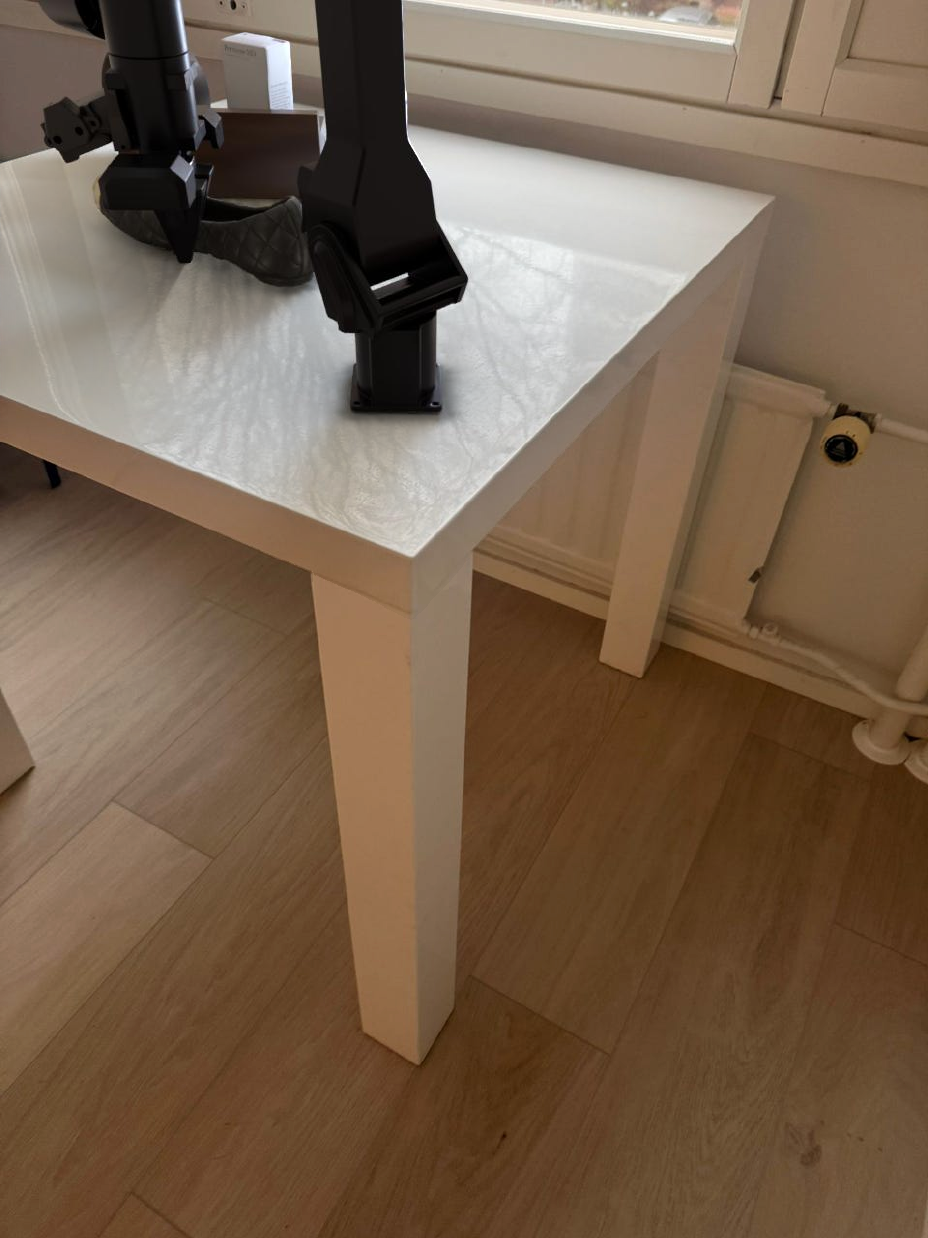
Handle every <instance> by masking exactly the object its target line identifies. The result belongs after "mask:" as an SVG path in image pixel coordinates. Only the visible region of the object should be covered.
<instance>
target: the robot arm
mask: <svg viewBox="0 0 928 1238" xmlns="http://www.w3.org/2000/svg"><path fill="white" fill-rule="evenodd" d="M36 1H37V3H38V5H39V7H40V8H41V10H42V12H43V13H44V14H45V15H46V16H47V18H49V20H50V21H52V22H54V23H55V24H56V25H58V26H60V27H62V28H64V29H68V30H70V31H74V32H77V33H80V34H82V35H83V34H84V35H87V36H90V37H94V38H97V39H99V40H104V41H105V43H106V48H107V52H108V54H109V59H110V64H111V68H110V69H109V70H108V71H107V72H106V73H105V75H104V76H103V78H102V77H101V84H102V83H103V88H102V87H101V88H100V89H96V90H94V91H92V92H89V93H87V94H85V95H83V96H80V97H78V98H76V99H71V98H69V97H68V96H63V97H62V98H61V99H59V100H58V101H56V102H54V103H53V102H49V103H47V104H46V105H45V106H44V107H43V108H42V113H43V119H42V120H41V122H40V128H41V129H42V131H43V133H44V137H43V142H44V144H45V146H47V147H48V148H50V149H55V151H57V152H58V153H59V154H60V156H61V158H62V160H63V161H64V163H65V164H71V163H73V162H77V161H78V160H79V159H80V157H81V156H83V155H86V154H88V153H90V152H93V151H95V150H97V149H100V148H103V147H105V146H108V145H110V144H112V145H113V149H114V150H113V151H114V152H117V154H116V156H115V157H114V159H112V161H111V162H110V163H109V165H108V166H107V167H106V169H105V170H104V172H102V174H100V175H101V177H100V178H99V179H98V185H99V189H100V193H101V198H102V202H103V207H104V208H106V209H108V210H147V211H153V212H154V213H155V215H156V217H157V219H158V221H159V223H160V225H161V227H162V229H163V231H164V234H165V236H166V238H167V240H168V242H169V244H170V246H171V248H172V250H171V251H172V252H173V255H174V257H175V259H176V261H177V263H178V264H179V265H190V264H192V262H193V259H194V255H195V253H194V251H195V246H196V242H197V237H198V233H199V228H200V224H201V219H202V216H203V211H204V207H205V203H206V198H207V194H208V190H209V185H210V181H211V177H212V173H213V170H214V166H213V165H212V164H197V163H195V156H194V155H190V153H191V152H192V151H196V150H197V149H198V147H199V145H200V143H201V142H202V140H210V142H211V145H212V148H213V149H220V148H221V146H222V144H223V142H224V135H223V128H222V120H221V117H220V116H219V115H218V114H217V113H216V112H215V111H214V110H213V109H212V108H213V107H212V106H209V105H196V99H195V92H194V86H193V81H194V80H195V79H196V77H197V76H198V75H197V68H196V61H190V59H189V52H188V50H189V46H188V40H187V39H188V38H187V32H186V26H185V19H184V15H183V14H184V11H183V5H182V0H36ZM314 8H315V19H316V31H317V42H318V55H319V66H320V76H321V89H322V100H323V111H324V112H323V113H324V125H325V144H324V147H323V149H322V152H321V154H320V157H319V160H318V161H316V162H313V163H309V164H305V165H302V166H300V167H299V172H298V178H297V185H298V190H299V194H300V199H299V200H300V205H301V206H302V224H301V232H302V233H303V234H305V233H307V243H308V251H309V256H310V259H311V263H312V266H313V270H314V277H315V280H316V283H317V287H318V290H319V294H320V297H321V300H322V304H323V308H324V311H325V314H326V317H327V318H328V319H330V320H332V321H334V322H336V324H337V327H338V331H339V332H341V333H343V334H354V348H355V349H354V350H355V362H354V363H353V366H352V375H351V386H350V398H349V409H350V411H352V412H355V413H440V412H442V411H443V389H442V388H443V387H442V371H441V369H442V367H441V364H440V363H437V336H438V335H437V333H438V332H437V330H438V329H437V328H438V327H437V326H438V325H437V324H438V321H437V320H438V311H439V310H441V309H444V308H446V307H448V306H450V305H456V304H459V303H461V302H462V301H463V298H464V295H465V291H466V289H467V286H468V283H469V276H468V274H467V272H466V270H465V268H464V267H463V265H462V263H461V261H460V260H459V257H458V256H457V254H456V252H455V250H454V248H453V247H452V245H451V243H450V241H449V239H448V237H447V236H446V234H445V232H444V230H443V228H442V227H441V224H440V223H439V221H438V219H437V213H436V205H435V198H434V191H433V182H432V178H431V177H430V175H429V173H428V171H427V169H426V167H425V166H424V164H423V162H422V160H421V159H420V156H419V155H418V153H417V152H416V150H415V148H414V146H413V144H412V143H411V141H410V139H409V135H408V122H407V123H406V94H405V90H406V70H405V69H406V68H405V66H406V65H405V41H404V40H405V38H404V13H403V10H404V9H403V0H314ZM131 150H138V154H123V153H118V151H119V152H130V151H131ZM406 274H407V276H405V277H403V278H400V279H398V280H396V281H393V282H390V283H388V284H385V285H383V286H380V287H378V288H375V289H372V287H374V286H377V285H380V284H382V283H385V282H387V281H390V280H392V279H395V278H398V277H400V276H401V277H402V276H404V275H406Z"/></svg>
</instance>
